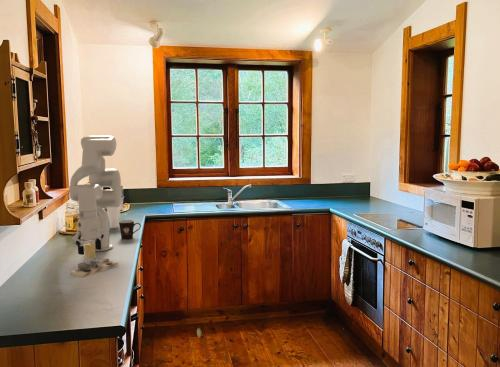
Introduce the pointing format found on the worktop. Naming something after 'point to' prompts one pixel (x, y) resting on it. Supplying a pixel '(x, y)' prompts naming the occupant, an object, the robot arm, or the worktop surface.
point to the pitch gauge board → (92, 268)
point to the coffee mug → (127, 228)
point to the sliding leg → (90, 254)
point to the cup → (114, 215)
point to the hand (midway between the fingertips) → (90, 251)
